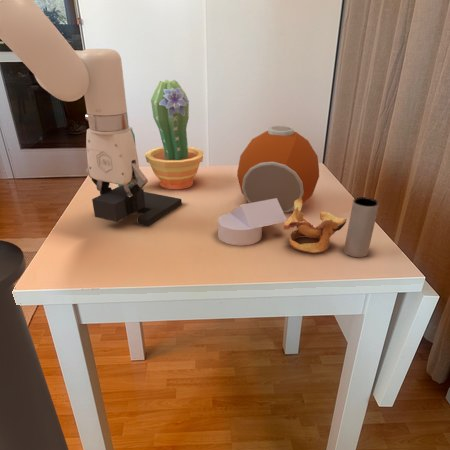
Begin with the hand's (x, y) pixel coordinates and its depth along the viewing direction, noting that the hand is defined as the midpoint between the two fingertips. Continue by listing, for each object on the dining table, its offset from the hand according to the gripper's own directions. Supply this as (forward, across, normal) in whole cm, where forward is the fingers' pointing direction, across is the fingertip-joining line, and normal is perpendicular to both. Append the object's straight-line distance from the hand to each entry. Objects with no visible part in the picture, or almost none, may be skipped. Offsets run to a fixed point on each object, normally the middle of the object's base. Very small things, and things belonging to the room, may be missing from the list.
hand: (120, 209), depth 92 cm
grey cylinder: (+3, +50, +8) cm, 51 cm away
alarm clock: (+3, +27, +25) cm, 37 cm away
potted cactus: (+3, -2, +26) cm, 27 cm away
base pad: (+3, 0, +7) cm, 7 cm away
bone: (+3, +41, +8) cm, 42 cm away
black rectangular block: (+1, 0, 0) cm, 1 cm away
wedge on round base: (+3, +28, +6) cm, 29 cm away
